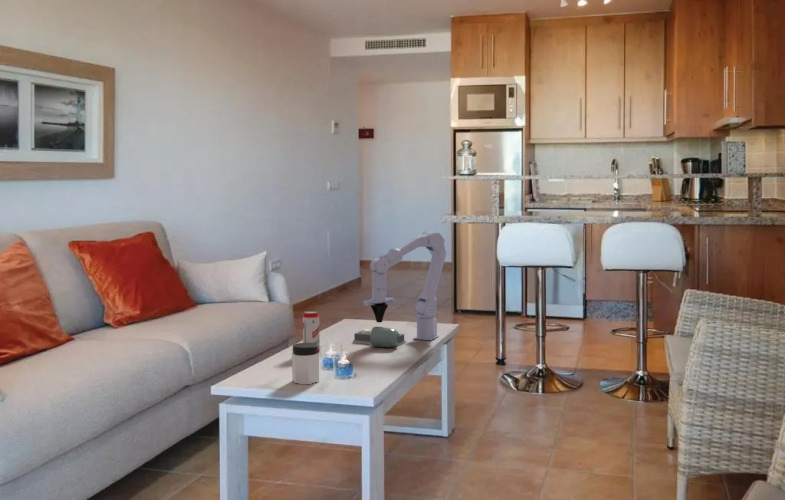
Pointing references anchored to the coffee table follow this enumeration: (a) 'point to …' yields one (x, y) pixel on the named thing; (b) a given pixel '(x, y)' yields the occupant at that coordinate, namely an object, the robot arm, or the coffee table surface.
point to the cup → (384, 337)
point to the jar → (305, 363)
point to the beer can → (311, 328)
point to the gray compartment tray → (366, 338)
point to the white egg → (365, 331)
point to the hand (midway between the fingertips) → (379, 321)
